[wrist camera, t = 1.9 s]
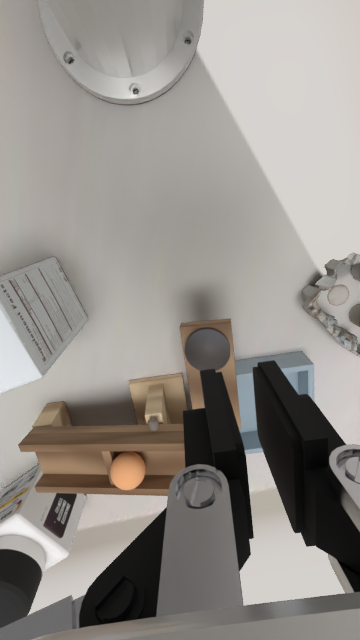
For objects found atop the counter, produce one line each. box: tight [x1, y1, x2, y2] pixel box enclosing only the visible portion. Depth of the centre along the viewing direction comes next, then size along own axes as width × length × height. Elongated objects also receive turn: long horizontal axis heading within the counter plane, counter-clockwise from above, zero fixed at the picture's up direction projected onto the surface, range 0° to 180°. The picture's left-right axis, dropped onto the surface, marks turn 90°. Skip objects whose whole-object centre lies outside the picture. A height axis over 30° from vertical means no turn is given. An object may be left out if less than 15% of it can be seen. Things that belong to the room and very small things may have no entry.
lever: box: [18, 319, 241, 496], centre depth 28 cm, size 17×21×3 cm
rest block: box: [32, 401, 72, 428], centre depth 35 cm, size 6×2×4 cm, turn 8°
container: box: [0, 464, 86, 628], centre depth 34 cm, size 8×8×13 cm
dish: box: [235, 351, 314, 454], centre depth 35 cm, size 10×10×4 cm
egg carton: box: [302, 253, 360, 357], centre depth 31 cm, size 11×8×4 cm
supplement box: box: [0, 257, 88, 394], centre depth 26 cm, size 7×7×13 cm
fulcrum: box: [129, 373, 188, 425], centre depth 34 cm, size 9×6×6 cm, turn 8°
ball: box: [110, 452, 145, 490], centre depth 29 cm, size 3×3×3 cm
